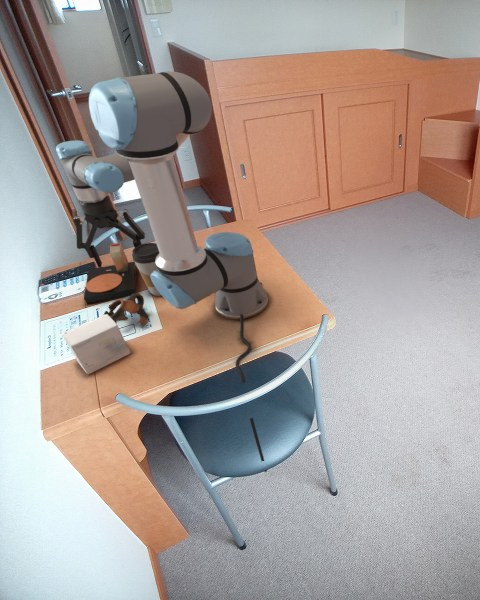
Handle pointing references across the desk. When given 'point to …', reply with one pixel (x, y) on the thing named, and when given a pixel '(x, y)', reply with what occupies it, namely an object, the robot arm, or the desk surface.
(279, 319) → the desk surface
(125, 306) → the pottery mug
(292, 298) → the desk surface
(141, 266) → the coffee cup
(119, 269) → the cream block
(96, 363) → the cosmetics box
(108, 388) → the desk surface
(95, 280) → the warming ring
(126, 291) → the hotplate
